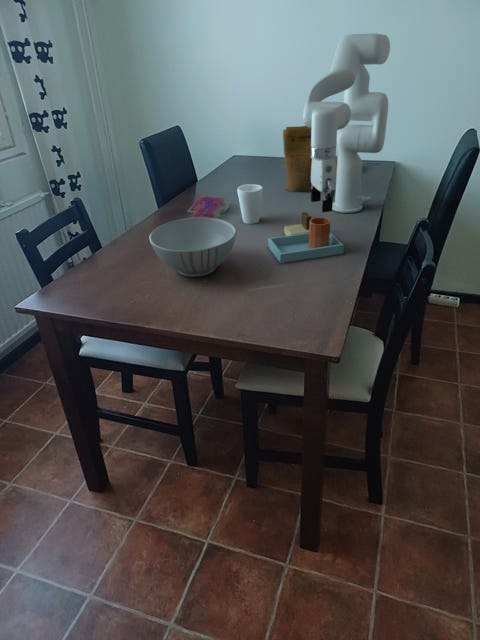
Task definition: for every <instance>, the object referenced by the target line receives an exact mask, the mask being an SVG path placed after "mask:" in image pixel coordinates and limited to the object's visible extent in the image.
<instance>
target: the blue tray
mask: <svg viewBox="0 0 480 640" xmlns="http://www.w3.org/2000/svg"><path fill="white" fill-rule="evenodd" d="M267 243H268V245H267V246H268V249H269V250H270V251H271V253H272V254H273V255H274V256H275V258H276V259H277V261H278V262H279V263H280V264H284V263H290V262H291V263H292V262H298V261H302V260H309V259H316V258H323V257H330V256H336V255H342V254H344V250H345V249H344V248H345V245H344V243H343V242H342V241H340V240H339V239H338V237H336V236H335V235H334V234H333V233H332V232H330V242H329V246H326V247H320V248H313V249H309V233H303V234H296V235H289V236H286V235H284V236H283V235H282V236H276V237H269V238H267Z"/></svg>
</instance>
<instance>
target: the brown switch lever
mask: <svg viewBox="0 0 480 640" xmlns="http://www.w3.org/2000/svg"><path fill="white" fill-rule="evenodd" d="M300 218H301V219H300V221H301V223H300V224H301V225H302V226H303V227H304V228H305V229H306V230H308V229H309V221H310V219H312V215H310V214H309V213H308V212H306V211H305V212H301V217H300Z"/></svg>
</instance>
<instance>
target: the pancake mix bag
mask: <svg viewBox="0 0 480 640" xmlns="http://www.w3.org/2000/svg"><path fill="white" fill-rule="evenodd" d="M282 140H283V141H282V142H283V143H282V145H283V154H284V163H285V170H286V171H285V174H286V181H287V185H286V190H287V191H289V192H294V193H299V192H300V193H311V190H313V189H311V185H312V184H311V165H312V158H311V128H309V127H307V126H306V125H303V126H302V125H301V126H286V127H285V129H283V130H282Z"/></svg>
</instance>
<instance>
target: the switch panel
mask: <svg viewBox="0 0 480 640" xmlns="http://www.w3.org/2000/svg"><path fill="white" fill-rule="evenodd" d="M283 232H284V236H289V235H296V234H303V233H309V229H308V230H306V229H305V228H304V227H303V226H302V225H301V223H299V224H291V225H285V226H284V228H283Z"/></svg>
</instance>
